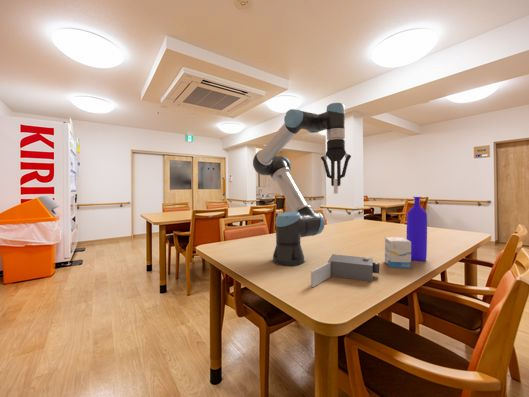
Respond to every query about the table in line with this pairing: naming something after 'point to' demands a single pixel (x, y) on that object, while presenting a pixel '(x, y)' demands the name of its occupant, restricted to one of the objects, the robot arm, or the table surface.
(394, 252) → the ink box
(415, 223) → the bottle
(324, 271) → the side door
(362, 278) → the camera box
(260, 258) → the table surface
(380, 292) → the table surface
